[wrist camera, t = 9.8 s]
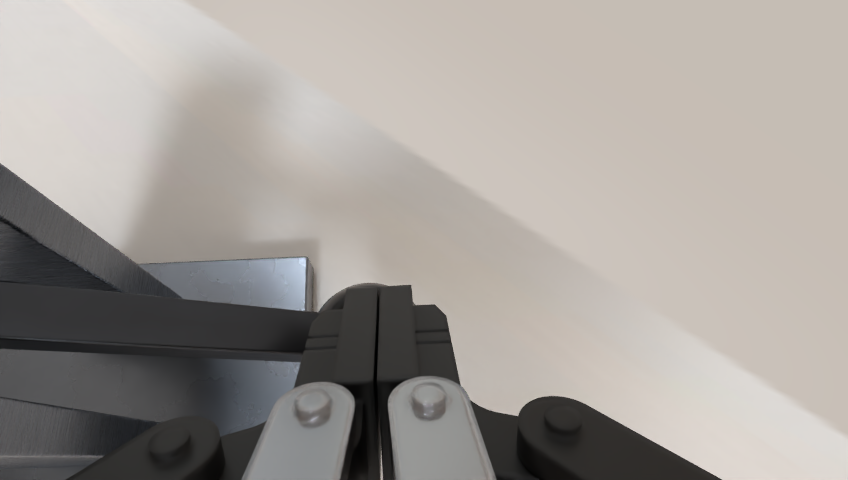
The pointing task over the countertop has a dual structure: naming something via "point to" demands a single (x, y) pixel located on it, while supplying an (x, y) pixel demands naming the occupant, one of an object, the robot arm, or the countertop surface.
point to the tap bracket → (117, 373)
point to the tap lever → (151, 324)
